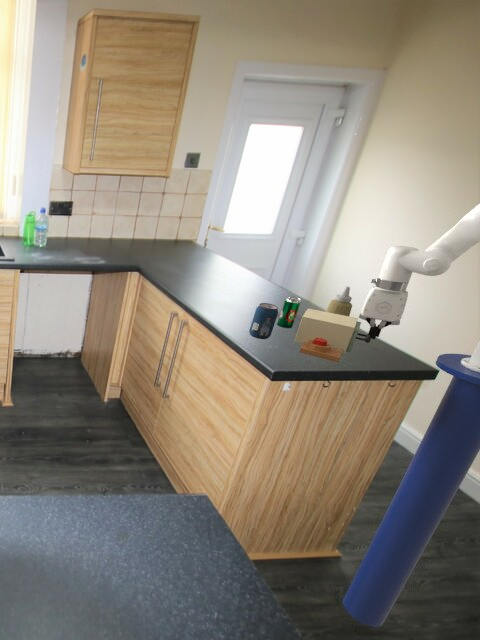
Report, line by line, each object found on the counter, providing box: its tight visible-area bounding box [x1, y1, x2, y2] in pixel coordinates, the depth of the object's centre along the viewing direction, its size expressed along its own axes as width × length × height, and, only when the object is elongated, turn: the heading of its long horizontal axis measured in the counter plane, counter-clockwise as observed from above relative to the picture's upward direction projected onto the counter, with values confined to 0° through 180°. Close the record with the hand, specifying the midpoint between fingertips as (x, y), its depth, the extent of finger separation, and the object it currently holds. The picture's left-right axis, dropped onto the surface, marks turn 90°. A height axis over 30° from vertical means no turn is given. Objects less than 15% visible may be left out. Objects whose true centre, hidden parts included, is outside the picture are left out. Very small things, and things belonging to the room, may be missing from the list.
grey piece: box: [345, 320, 371, 353], centre depth 164 cm, size 18×12×8 cm, turn 49°
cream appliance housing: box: [293, 308, 359, 355], centre depth 167 cm, size 15×13×10 cm
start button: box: [313, 338, 327, 346], centre depth 159 cm, size 4×4×2 cm
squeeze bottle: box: [325, 286, 353, 317], centre depth 175 cm, size 8×8×18 cm
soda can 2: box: [276, 296, 302, 329], centre depth 179 cm, size 5×5×12 cm
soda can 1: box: [248, 302, 279, 340], centre depth 170 cm, size 7×7×12 cm
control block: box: [298, 340, 343, 363], centre depth 159 cm, size 11×8×4 cm
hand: (372, 337), depth 159 cm, fingers closed
